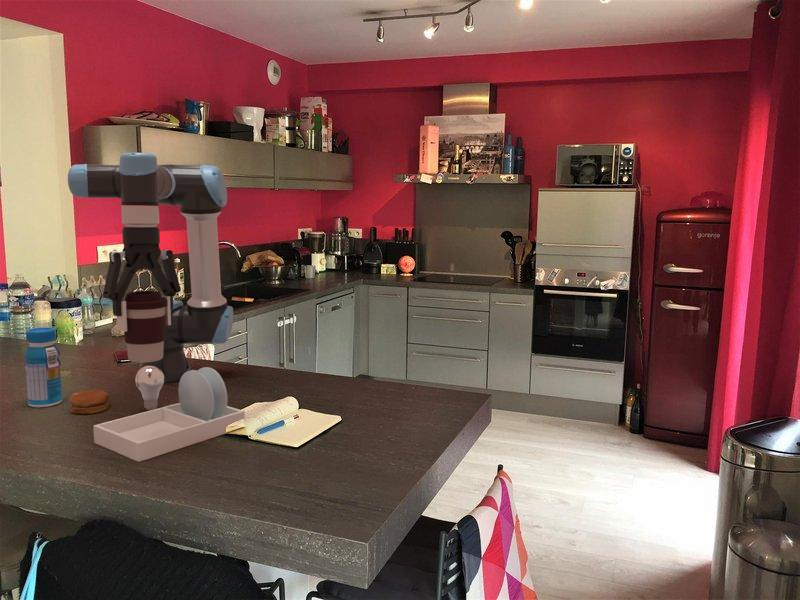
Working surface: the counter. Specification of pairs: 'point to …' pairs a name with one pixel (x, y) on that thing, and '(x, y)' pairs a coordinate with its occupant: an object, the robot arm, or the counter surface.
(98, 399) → the burger
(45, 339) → the beverage bottle
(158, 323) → the coffee cup
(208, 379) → the plates
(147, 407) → the light bulb
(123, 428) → the white tray
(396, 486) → the counter surface
